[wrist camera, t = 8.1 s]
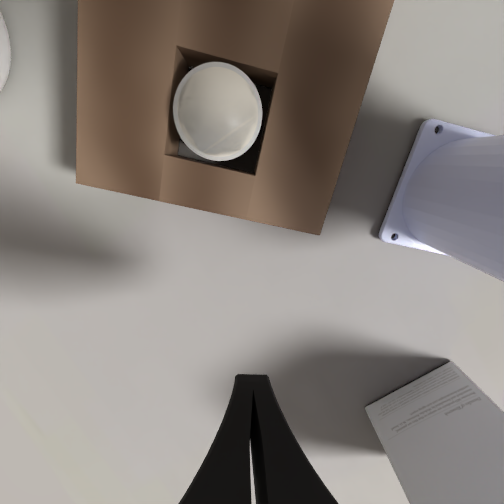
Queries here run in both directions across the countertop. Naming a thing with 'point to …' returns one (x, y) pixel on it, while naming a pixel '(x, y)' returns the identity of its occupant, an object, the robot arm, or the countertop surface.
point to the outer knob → (217, 111)
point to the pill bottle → (4, 53)
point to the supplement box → (443, 439)
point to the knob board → (258, 70)
